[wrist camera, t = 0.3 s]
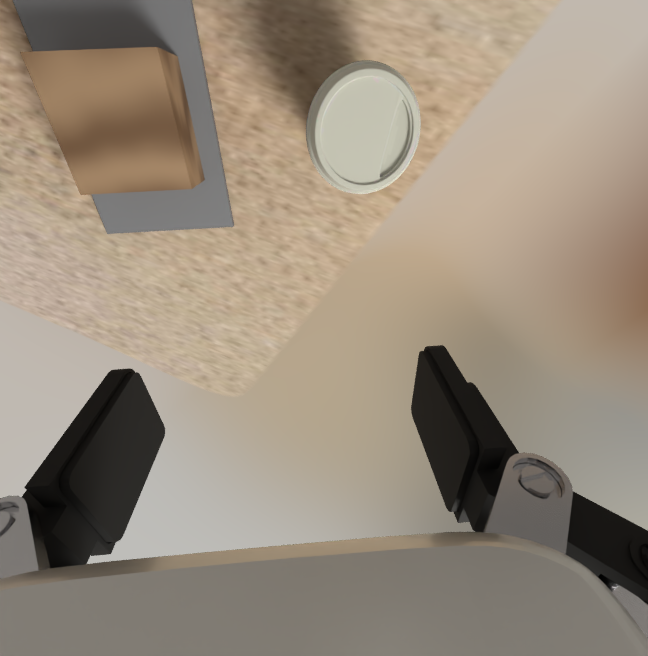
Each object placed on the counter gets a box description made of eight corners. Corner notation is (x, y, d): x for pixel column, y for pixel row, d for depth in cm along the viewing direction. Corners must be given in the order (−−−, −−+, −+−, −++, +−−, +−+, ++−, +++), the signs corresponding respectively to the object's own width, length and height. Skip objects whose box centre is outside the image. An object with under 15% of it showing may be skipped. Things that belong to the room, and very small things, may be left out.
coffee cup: (345, 191, 36) (362, 222, 26) (286, 129, 33) (281, 136, 23) (405, 127, 33) (451, 133, 23) (348, 50, 30) (373, 18, 20)
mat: (9, -18, 26) (4, -21, 26) (187, -24, 26) (185, -26, 26) (110, 232, 37) (107, 233, 37) (234, 225, 38) (233, 226, 37)
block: (61, 60, 28) (20, 52, 24) (177, 56, 29) (157, 46, 25) (107, 184, 34) (80, 194, 30) (204, 179, 34) (191, 189, 30)
